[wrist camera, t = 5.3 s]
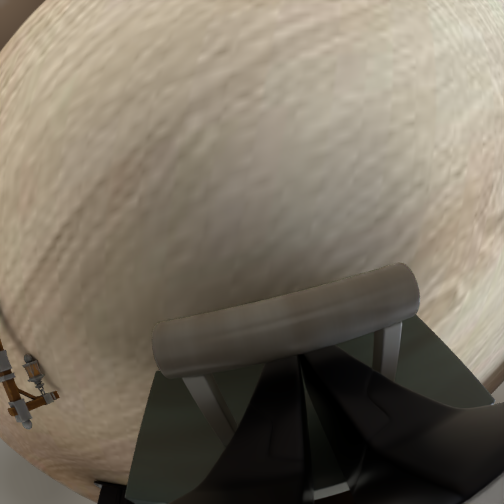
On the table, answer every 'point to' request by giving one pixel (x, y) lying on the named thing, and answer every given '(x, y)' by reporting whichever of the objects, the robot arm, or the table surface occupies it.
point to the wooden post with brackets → (19, 408)
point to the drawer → (275, 348)
